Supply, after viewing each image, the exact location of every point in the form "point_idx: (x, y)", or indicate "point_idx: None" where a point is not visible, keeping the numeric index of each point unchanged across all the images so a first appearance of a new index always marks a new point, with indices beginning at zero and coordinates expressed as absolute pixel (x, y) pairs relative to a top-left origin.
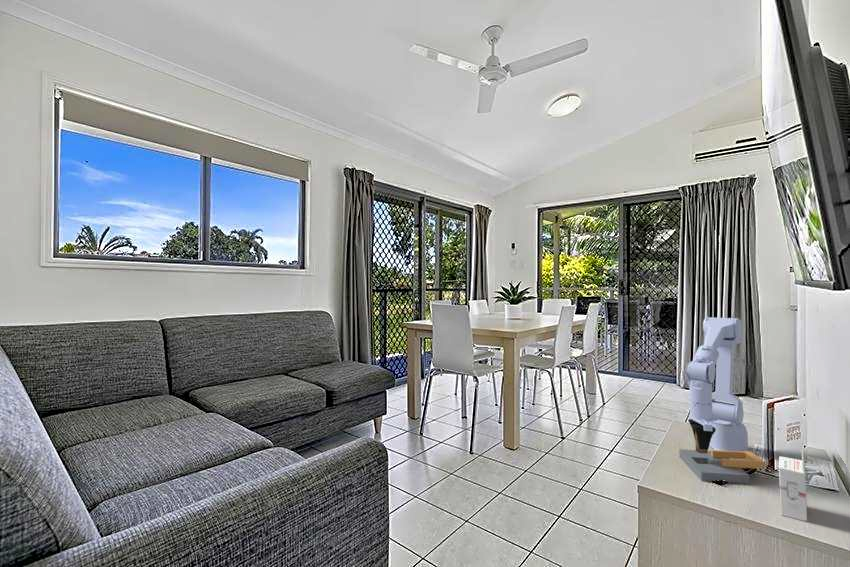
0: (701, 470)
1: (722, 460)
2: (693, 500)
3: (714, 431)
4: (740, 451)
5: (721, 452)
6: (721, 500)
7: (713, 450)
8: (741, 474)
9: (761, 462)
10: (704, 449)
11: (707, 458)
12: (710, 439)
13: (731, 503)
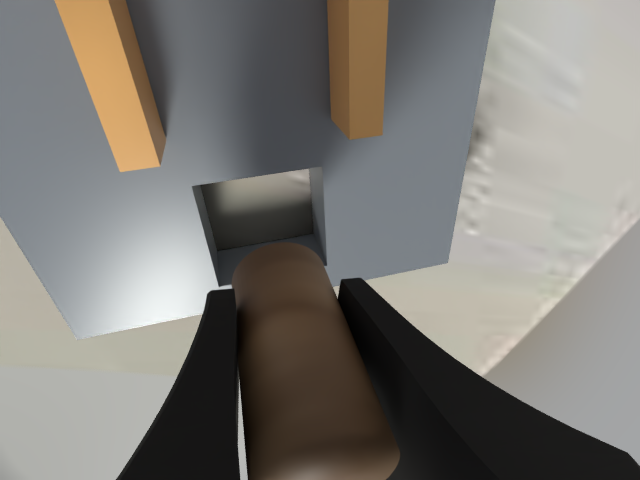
0: (424, 258)
1: (374, 132)
2: (570, 283)
3: (627, 460)
4: None
5: (131, 65)
6: (594, 193)
7: (134, 152)
8: (490, 9)
9: None
10: (334, 292)
11: (195, 184)
12: (446, 353)
13: (625, 160)
